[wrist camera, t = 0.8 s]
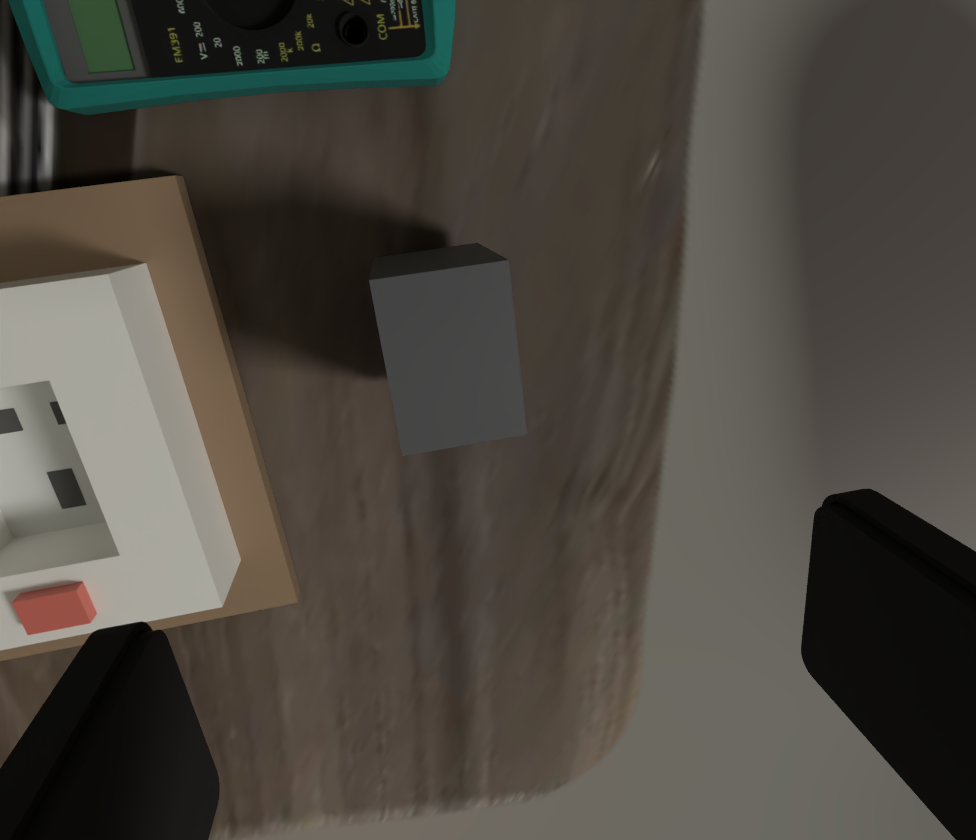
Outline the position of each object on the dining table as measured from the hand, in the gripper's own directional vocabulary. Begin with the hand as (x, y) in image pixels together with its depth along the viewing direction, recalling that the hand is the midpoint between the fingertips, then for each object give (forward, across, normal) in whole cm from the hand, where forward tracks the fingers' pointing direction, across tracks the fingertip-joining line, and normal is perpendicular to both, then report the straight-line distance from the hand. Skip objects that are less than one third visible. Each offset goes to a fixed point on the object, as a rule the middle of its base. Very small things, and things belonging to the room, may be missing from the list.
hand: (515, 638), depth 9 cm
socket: (+21, +16, +2) cm, 27 cm away
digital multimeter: (+21, +5, -14) cm, 26 cm away
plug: (+21, 0, -1) cm, 21 cm away
